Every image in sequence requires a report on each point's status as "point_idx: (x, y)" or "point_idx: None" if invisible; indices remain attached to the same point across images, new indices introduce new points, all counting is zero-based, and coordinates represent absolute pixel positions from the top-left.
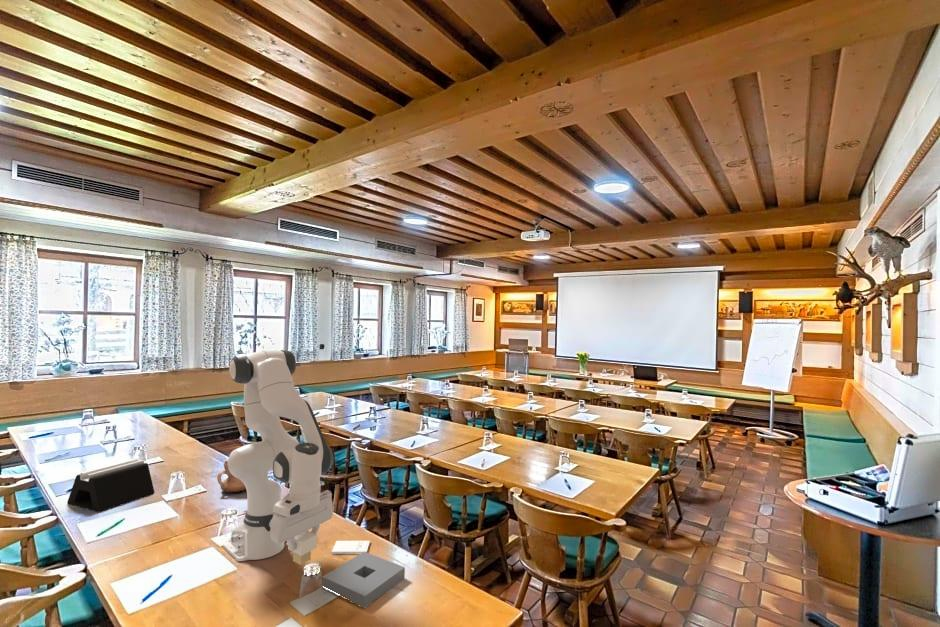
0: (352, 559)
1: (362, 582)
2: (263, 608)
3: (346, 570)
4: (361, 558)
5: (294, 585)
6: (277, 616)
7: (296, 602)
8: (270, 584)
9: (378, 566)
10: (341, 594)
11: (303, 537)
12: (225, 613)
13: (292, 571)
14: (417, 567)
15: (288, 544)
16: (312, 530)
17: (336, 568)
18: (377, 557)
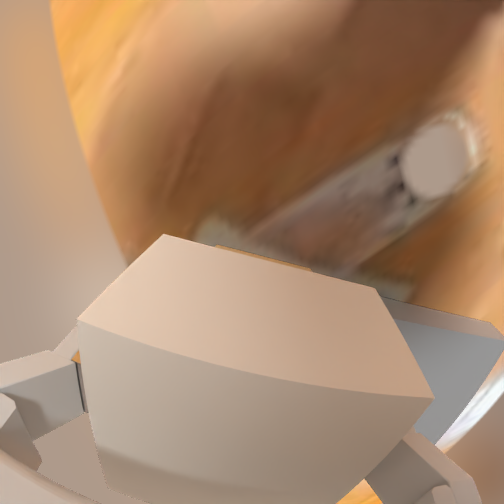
0: (466, 338)
1: None
2: (139, 146)
3: None
4: (470, 360)
5: (313, 157)
6: (125, 230)
7: (214, 243)
8: (284, 51)
9: (421, 425)
10: None
11: (185, 487)
12: (84, 51)
13: (400, 85)
14: (448, 441)
15: (140, 258)
16: (411, 464)
17: (406, 323)
18: (470, 396)
